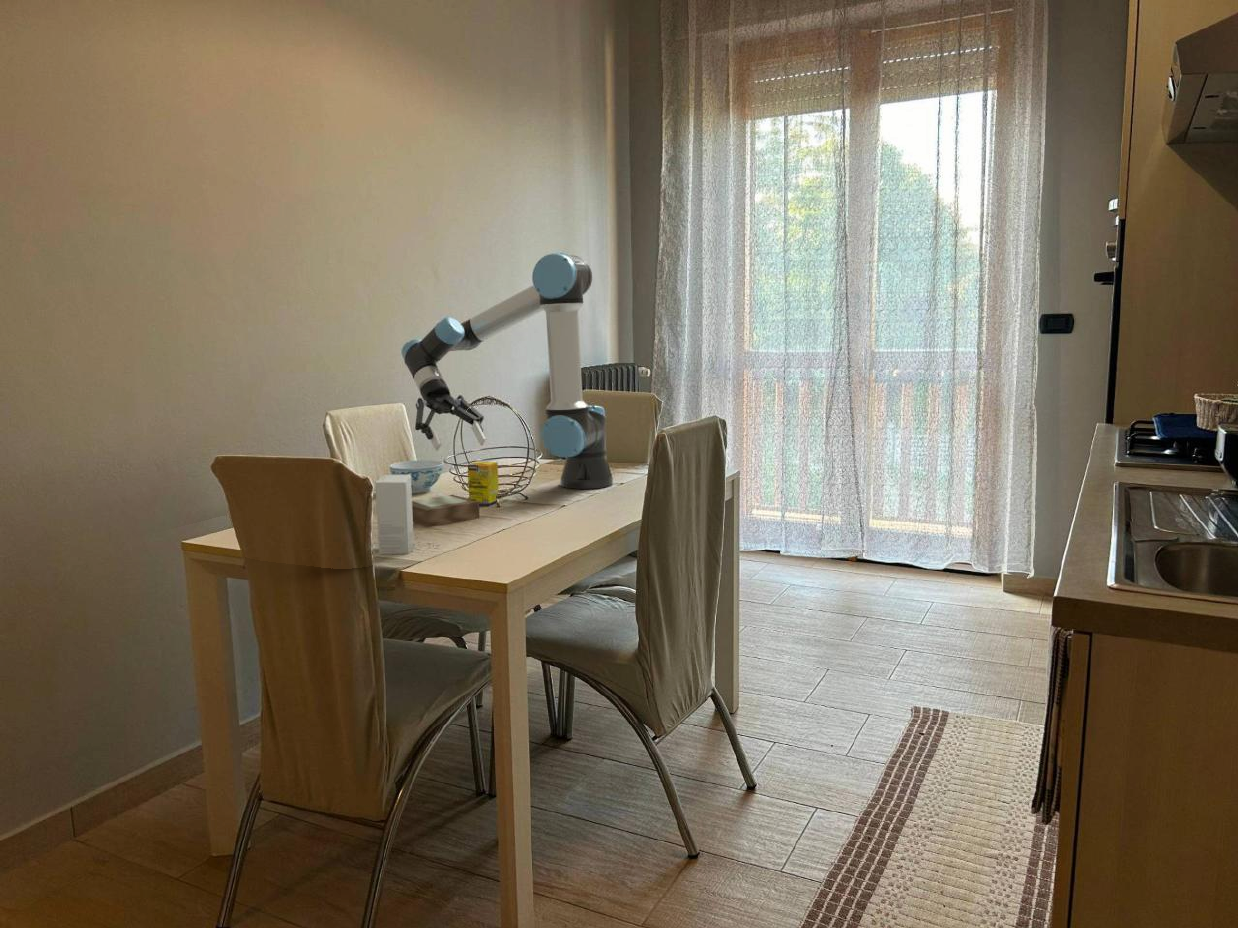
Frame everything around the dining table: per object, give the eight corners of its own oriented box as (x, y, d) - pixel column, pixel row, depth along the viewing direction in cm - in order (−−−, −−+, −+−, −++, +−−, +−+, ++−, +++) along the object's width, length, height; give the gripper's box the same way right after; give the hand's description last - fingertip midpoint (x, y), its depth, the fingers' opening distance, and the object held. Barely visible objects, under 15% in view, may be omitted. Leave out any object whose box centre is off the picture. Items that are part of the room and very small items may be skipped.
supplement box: (468, 505, 241) (466, 464, 239) (479, 501, 246) (477, 460, 244) (489, 506, 239) (487, 465, 237) (499, 502, 244) (497, 461, 242)
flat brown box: (453, 510, 235) (452, 493, 234) (479, 517, 225) (478, 500, 224) (402, 518, 226) (401, 501, 226) (427, 526, 216) (426, 509, 216)
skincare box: (385, 545, 199) (381, 474, 197) (416, 544, 199) (412, 473, 197) (378, 555, 191) (373, 481, 188) (410, 554, 191) (406, 480, 189)
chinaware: (404, 498, 253) (402, 470, 251) (382, 490, 265) (381, 464, 263) (453, 491, 261) (452, 464, 260) (430, 484, 273) (429, 458, 272)
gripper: (467, 392, 268) (496, 448, 258) (386, 398, 252) (415, 458, 243) (475, 374, 263) (505, 431, 254) (394, 379, 247) (423, 440, 238)
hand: (461, 444), depth 248 cm, fingers open, 13 cm apart
